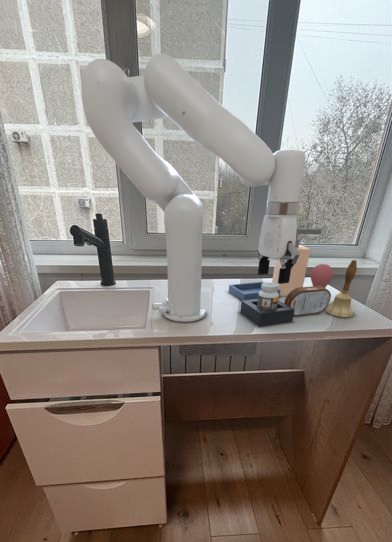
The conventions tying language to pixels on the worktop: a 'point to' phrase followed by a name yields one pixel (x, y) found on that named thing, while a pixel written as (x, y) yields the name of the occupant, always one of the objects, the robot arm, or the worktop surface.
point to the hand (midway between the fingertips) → (272, 278)
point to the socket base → (266, 313)
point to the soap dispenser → (295, 266)
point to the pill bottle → (268, 296)
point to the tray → (247, 290)
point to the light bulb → (321, 275)
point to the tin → (308, 300)
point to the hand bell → (344, 295)
